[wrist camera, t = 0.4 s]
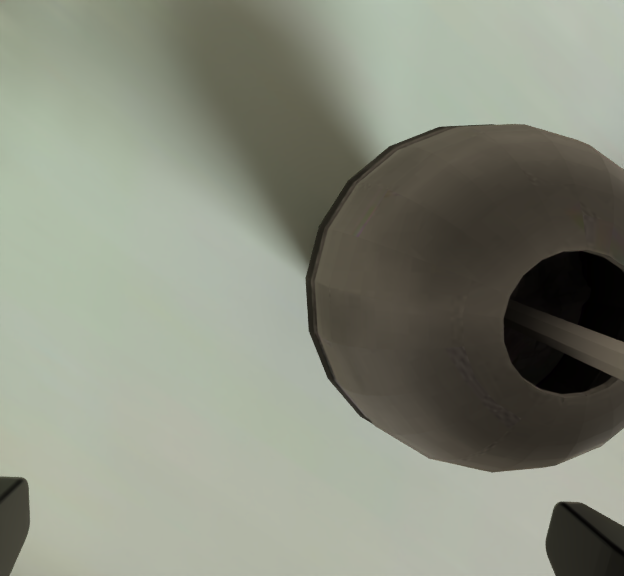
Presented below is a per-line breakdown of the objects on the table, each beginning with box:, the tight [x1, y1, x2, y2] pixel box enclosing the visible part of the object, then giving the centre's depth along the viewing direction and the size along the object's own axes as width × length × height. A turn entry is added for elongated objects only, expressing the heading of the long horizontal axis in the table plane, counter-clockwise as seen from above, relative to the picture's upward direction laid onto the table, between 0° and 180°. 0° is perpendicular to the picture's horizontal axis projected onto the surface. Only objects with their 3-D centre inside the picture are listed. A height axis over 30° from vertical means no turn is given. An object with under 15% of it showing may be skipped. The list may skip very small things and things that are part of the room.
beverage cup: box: [306, 124, 624, 472], centre depth 13 cm, size 7×7×20 cm
